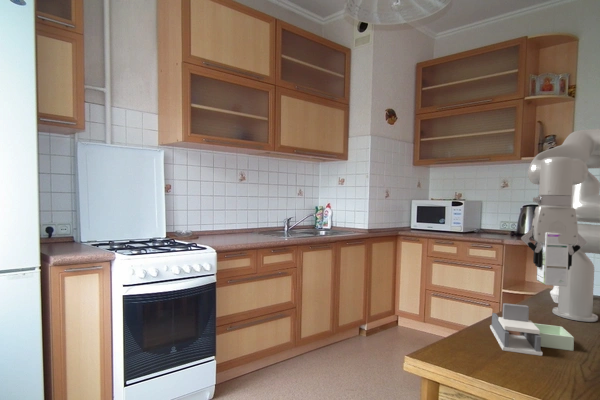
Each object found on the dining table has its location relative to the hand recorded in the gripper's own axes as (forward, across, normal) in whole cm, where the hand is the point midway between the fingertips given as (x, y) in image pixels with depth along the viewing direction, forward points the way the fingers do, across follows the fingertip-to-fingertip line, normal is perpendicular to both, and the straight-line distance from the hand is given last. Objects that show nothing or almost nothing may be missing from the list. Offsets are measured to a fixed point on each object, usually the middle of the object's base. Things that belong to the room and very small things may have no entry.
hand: (551, 267), depth 105 cm
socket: (+21, 0, 0) cm, 21 cm away
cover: (+16, -9, -6) cm, 19 cm away
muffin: (+21, +18, +49) cm, 56 cm away
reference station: (+21, -9, -2) cm, 23 cm away
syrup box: (+5, 0, 0) cm, 5 cm away
